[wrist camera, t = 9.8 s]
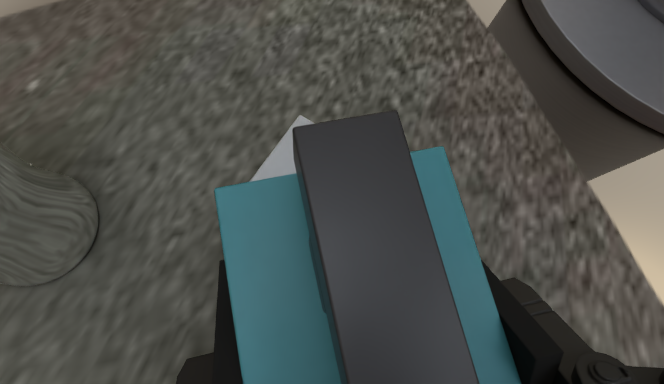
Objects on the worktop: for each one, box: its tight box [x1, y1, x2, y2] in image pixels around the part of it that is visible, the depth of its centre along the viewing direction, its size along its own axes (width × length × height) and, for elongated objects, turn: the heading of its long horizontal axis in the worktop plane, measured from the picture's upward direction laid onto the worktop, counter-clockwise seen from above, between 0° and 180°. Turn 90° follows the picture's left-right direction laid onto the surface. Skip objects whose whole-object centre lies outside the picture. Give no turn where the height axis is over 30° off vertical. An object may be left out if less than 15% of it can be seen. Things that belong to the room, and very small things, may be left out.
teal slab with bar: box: [214, 110, 521, 384], centre depth 12 cm, size 18×8×11 cm, turn 13°
